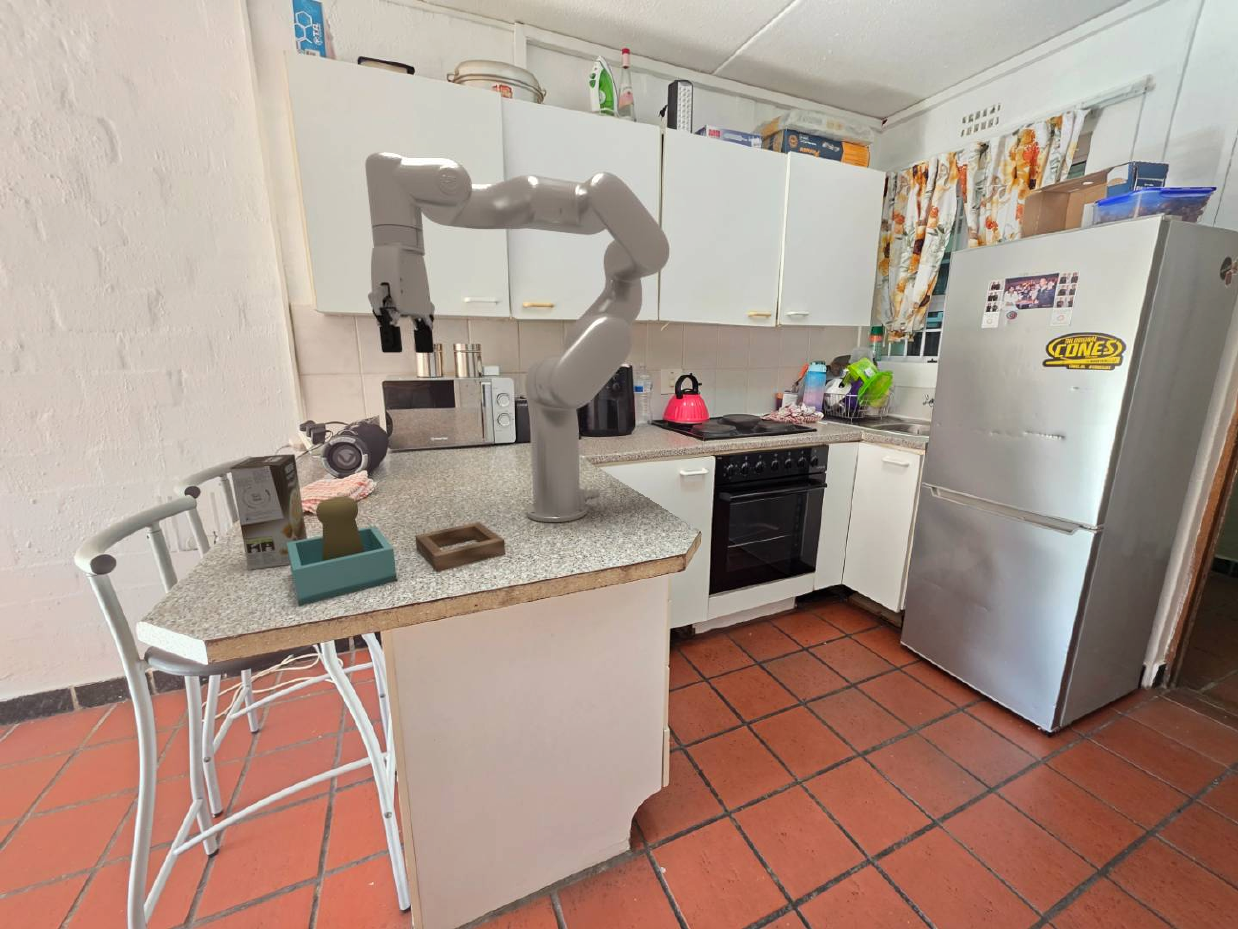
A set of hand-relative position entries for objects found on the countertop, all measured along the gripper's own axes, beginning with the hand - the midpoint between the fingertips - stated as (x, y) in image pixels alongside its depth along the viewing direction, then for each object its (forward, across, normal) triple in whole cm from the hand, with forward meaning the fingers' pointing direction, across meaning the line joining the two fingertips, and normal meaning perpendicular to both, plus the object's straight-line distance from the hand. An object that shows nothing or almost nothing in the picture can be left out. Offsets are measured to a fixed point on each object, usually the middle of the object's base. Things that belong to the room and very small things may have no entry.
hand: (409, 352), depth 82 cm
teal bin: (+32, +18, -3) cm, 37 cm away
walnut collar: (+32, +7, +10) cm, 35 cm away
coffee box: (+32, +13, -18) cm, 39 cm away
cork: (+32, +18, -2) cm, 37 cm away
